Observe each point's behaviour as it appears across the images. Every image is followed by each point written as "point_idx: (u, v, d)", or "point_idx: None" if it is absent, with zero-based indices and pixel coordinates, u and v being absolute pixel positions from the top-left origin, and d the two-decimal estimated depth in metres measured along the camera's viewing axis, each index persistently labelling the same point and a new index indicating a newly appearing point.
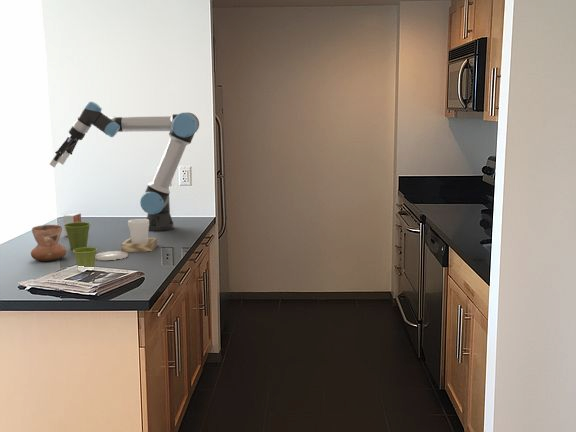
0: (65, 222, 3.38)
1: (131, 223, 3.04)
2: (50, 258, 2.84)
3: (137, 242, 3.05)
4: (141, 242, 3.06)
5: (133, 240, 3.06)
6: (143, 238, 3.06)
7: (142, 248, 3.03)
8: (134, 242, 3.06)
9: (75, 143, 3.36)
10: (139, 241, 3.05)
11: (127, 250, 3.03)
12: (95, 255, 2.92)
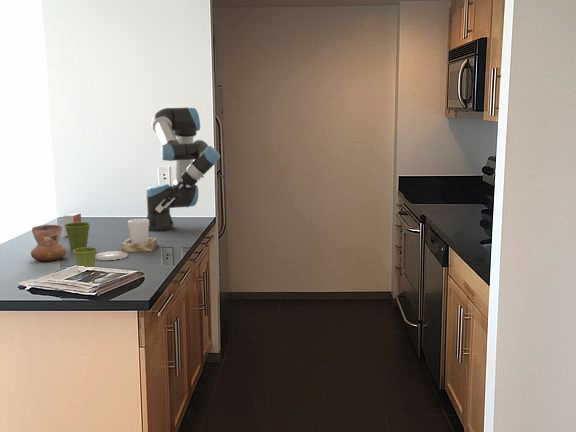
0: (65, 222, 3.38)
1: (131, 223, 3.04)
2: (50, 258, 2.84)
3: (137, 242, 3.05)
4: (141, 242, 3.06)
5: (133, 240, 3.06)
6: (143, 238, 3.06)
7: (142, 248, 3.03)
8: (134, 242, 3.06)
9: (178, 183, 3.03)
10: (139, 241, 3.05)
11: (127, 250, 3.03)
12: (95, 255, 2.92)
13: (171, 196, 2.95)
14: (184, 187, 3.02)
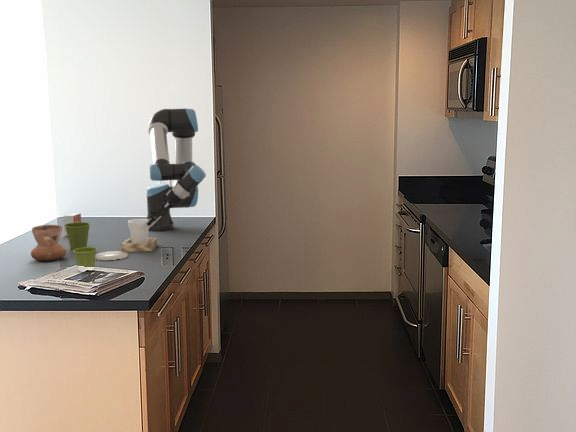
0: (65, 222, 3.38)
1: (131, 223, 3.03)
2: (50, 258, 2.84)
3: (137, 242, 3.05)
4: (141, 242, 3.06)
5: (133, 240, 3.06)
6: (143, 238, 3.06)
7: (142, 248, 3.03)
8: (134, 242, 3.06)
9: (163, 202, 3.04)
10: (139, 241, 3.05)
11: (127, 250, 3.03)
12: (95, 255, 2.92)
13: (157, 215, 2.96)
14: (170, 206, 3.03)
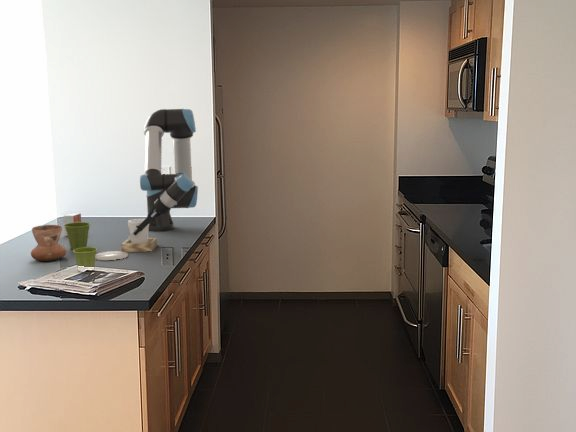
0: (65, 222, 3.38)
1: (131, 223, 3.04)
2: (50, 258, 2.84)
3: (137, 242, 3.05)
4: (141, 242, 3.06)
5: (133, 240, 3.06)
6: (143, 238, 3.06)
7: (142, 248, 3.03)
8: (134, 242, 3.06)
9: (151, 210, 3.06)
10: (139, 241, 3.05)
11: (127, 250, 3.03)
12: (95, 255, 2.92)
13: (143, 225, 3.00)
14: (157, 215, 3.05)
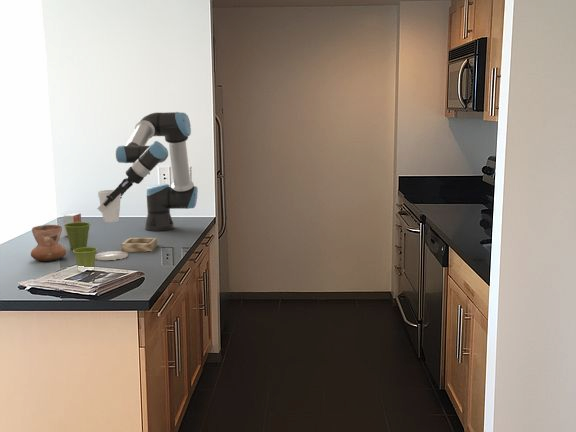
0: (65, 222, 3.38)
1: (101, 193, 2.85)
2: (50, 258, 2.84)
3: (108, 214, 2.87)
4: (112, 214, 2.87)
5: (104, 212, 2.87)
6: (114, 209, 2.87)
7: (142, 248, 3.03)
8: (105, 214, 2.87)
9: (123, 180, 2.87)
10: (110, 212, 2.87)
11: (127, 250, 3.03)
12: (95, 255, 2.92)
13: (113, 195, 2.81)
14: (129, 184, 2.86)
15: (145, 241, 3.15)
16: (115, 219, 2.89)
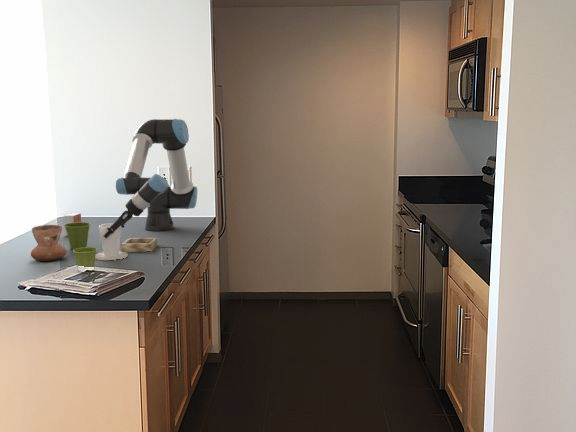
0: (65, 222, 3.38)
1: (101, 228, 2.87)
2: (50, 258, 2.84)
3: (108, 248, 2.89)
4: (112, 248, 2.89)
5: (104, 246, 2.89)
6: (114, 244, 2.89)
7: (142, 248, 3.03)
8: (105, 248, 2.89)
9: (122, 213, 2.89)
10: (110, 247, 2.89)
11: (127, 250, 3.03)
12: (95, 255, 2.92)
13: (114, 227, 2.82)
14: (129, 217, 2.88)
15: (145, 241, 3.15)
16: (115, 253, 2.91)
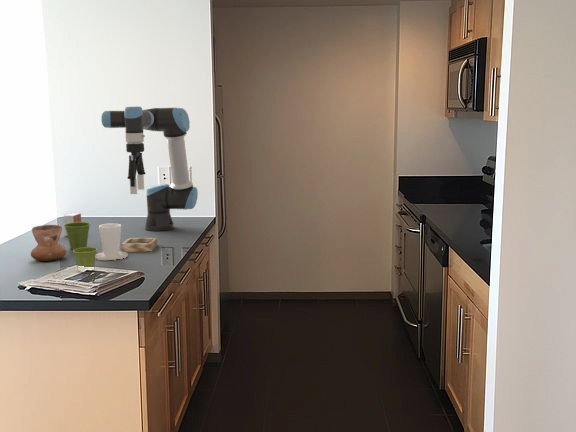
0: (65, 222, 3.38)
1: (102, 228, 2.87)
2: (50, 258, 2.84)
3: (108, 248, 2.89)
4: (112, 248, 2.89)
5: (104, 246, 2.89)
6: (115, 244, 2.89)
7: (142, 248, 3.03)
8: (105, 248, 2.89)
9: None
10: (110, 247, 2.89)
11: (127, 250, 3.03)
12: (95, 255, 2.92)
13: (131, 171, 2.82)
14: (137, 157, 2.88)
15: (145, 241, 3.15)
16: (115, 253, 2.91)
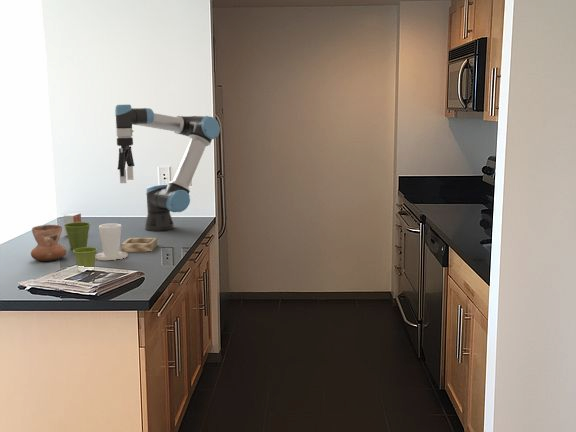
0: (65, 222, 3.38)
1: (102, 228, 2.87)
2: (50, 258, 2.84)
3: (108, 248, 2.89)
4: (112, 248, 2.89)
5: (104, 246, 2.89)
6: (114, 244, 2.89)
7: (142, 248, 3.03)
8: (105, 248, 2.89)
9: None
10: (110, 247, 2.89)
11: (127, 250, 3.03)
12: (95, 255, 2.92)
13: (121, 163, 3.14)
14: (127, 150, 3.20)
15: (145, 241, 3.15)
16: (115, 253, 2.91)
